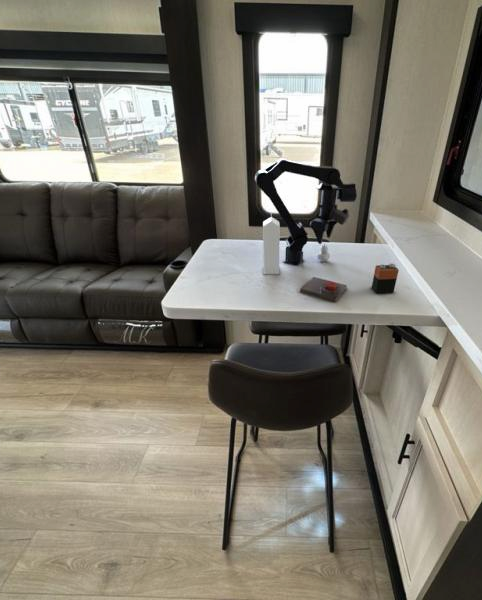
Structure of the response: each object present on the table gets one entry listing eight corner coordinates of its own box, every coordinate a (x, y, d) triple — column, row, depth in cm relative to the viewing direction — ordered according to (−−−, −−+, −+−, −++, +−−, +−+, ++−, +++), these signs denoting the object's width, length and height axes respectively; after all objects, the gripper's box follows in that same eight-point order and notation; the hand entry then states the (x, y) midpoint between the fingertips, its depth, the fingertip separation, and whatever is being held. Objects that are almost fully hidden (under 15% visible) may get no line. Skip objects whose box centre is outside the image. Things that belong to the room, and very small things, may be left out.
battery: (394, 293, 107) (400, 267, 102) (375, 294, 106) (381, 267, 101) (388, 287, 111) (394, 261, 106) (370, 288, 110) (375, 262, 105)
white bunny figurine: (318, 263, 128) (319, 245, 124) (315, 257, 133) (316, 239, 129) (330, 263, 128) (332, 245, 124) (327, 257, 134) (329, 239, 130)
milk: (278, 268, 123) (279, 212, 112) (279, 274, 117) (280, 217, 106) (263, 267, 122) (263, 212, 111) (263, 274, 117) (262, 217, 106)
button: (323, 289, 101) (324, 284, 101) (327, 285, 104) (328, 280, 103) (333, 292, 100) (334, 287, 99) (337, 287, 103) (338, 283, 102)
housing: (299, 292, 105) (299, 283, 103) (313, 280, 114) (313, 271, 112) (335, 303, 100) (336, 293, 98) (347, 289, 109) (348, 280, 107)
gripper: (339, 209, 108) (334, 251, 116) (355, 200, 122) (350, 238, 130) (310, 205, 112) (308, 245, 120) (329, 196, 127) (326, 233, 135)
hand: (324, 240), depth 126 cm, fingers open, 9 cm apart
